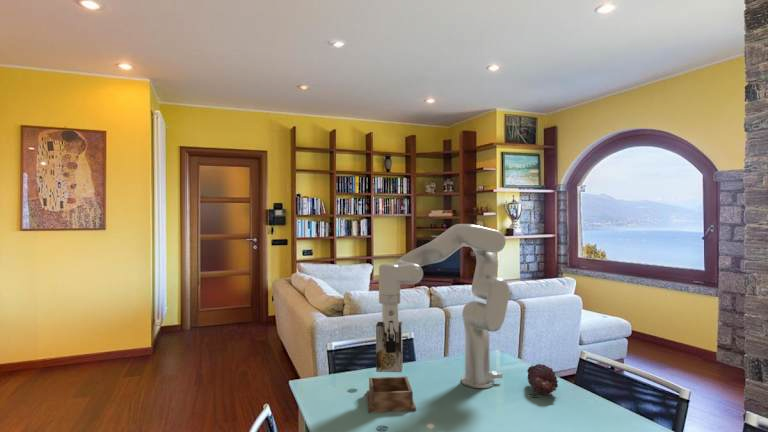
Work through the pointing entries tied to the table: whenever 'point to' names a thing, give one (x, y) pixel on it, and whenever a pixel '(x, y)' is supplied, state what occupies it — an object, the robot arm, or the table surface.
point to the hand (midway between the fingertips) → (389, 348)
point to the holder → (389, 395)
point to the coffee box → (388, 360)
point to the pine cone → (542, 379)
